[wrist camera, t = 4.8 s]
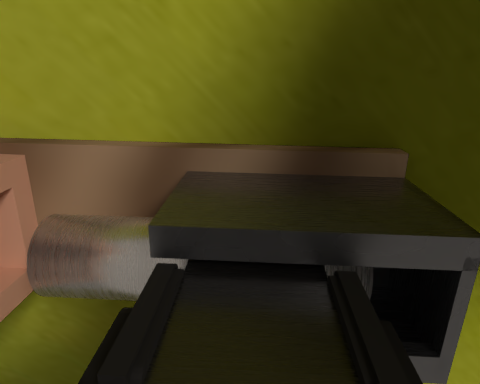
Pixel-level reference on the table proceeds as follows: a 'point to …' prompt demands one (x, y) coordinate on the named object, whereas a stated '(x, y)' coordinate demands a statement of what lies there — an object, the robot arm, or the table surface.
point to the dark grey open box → (337, 243)
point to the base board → (169, 170)
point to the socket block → (14, 231)
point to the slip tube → (204, 304)
